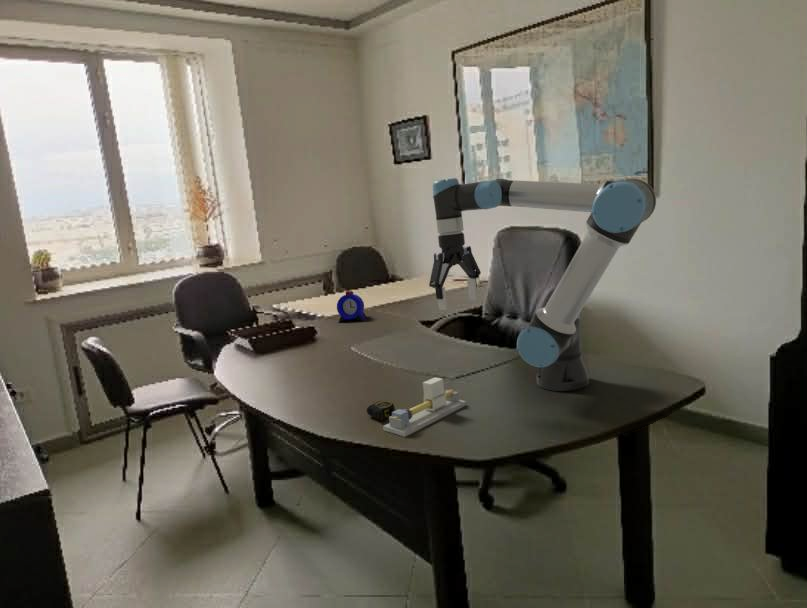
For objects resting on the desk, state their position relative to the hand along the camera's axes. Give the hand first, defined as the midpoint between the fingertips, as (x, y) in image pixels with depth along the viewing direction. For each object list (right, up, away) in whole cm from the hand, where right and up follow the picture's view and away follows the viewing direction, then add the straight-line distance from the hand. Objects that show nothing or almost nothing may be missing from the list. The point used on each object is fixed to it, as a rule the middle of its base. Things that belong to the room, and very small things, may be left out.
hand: (458, 304), depth 181 cm
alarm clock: (-41, -8, +120) cm, 127 cm away
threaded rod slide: (-10, -31, -13) cm, 35 cm away
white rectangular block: (-7, -29, -11) cm, 31 cm away
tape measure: (-22, -32, -10) cm, 40 cm away
